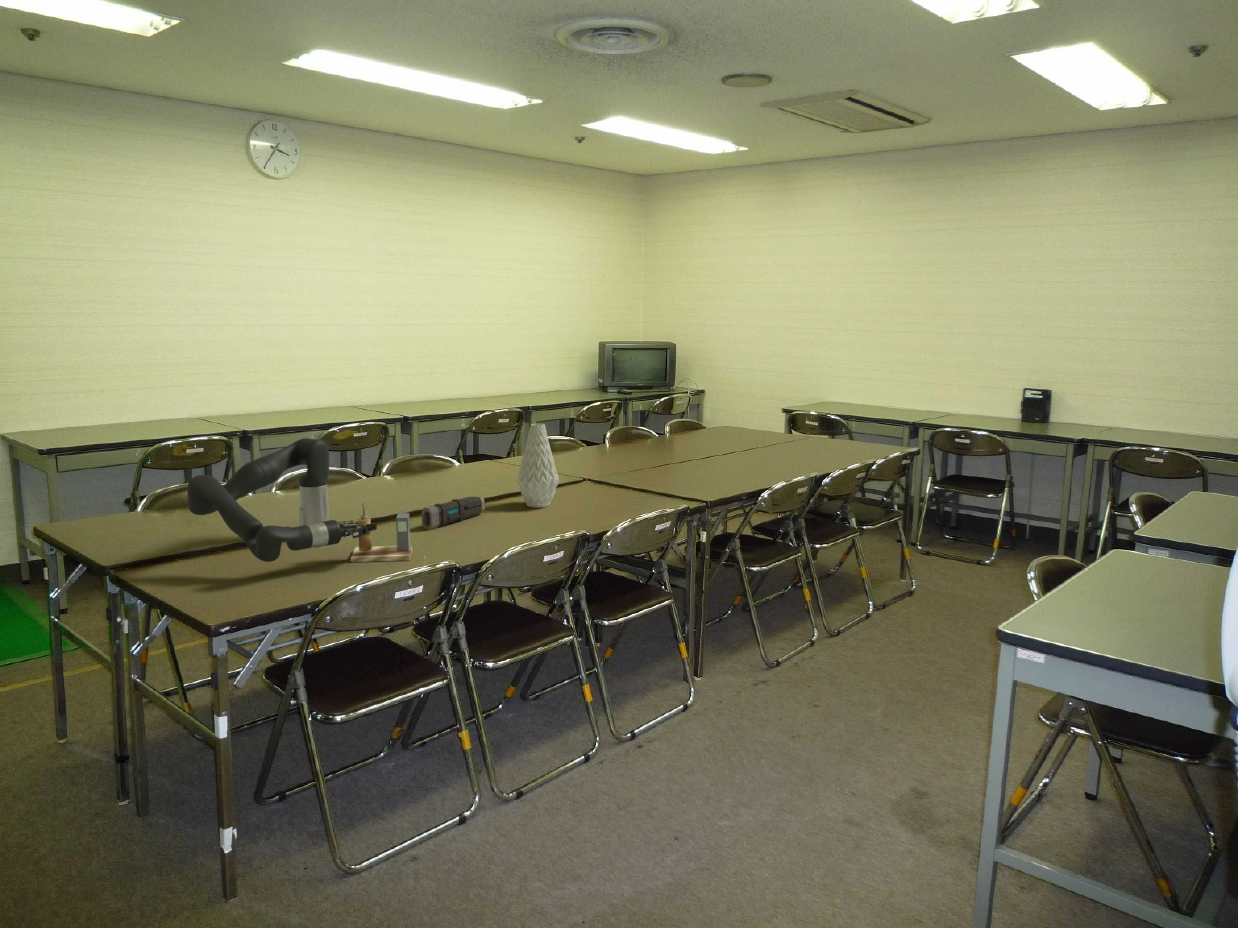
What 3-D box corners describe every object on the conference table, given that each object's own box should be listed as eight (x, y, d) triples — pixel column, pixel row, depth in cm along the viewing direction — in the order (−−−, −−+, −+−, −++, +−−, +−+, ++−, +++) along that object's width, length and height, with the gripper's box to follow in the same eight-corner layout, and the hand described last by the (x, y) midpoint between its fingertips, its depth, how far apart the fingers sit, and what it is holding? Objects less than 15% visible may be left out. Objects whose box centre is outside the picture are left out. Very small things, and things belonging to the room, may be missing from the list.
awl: (358, 551, 281) (356, 504, 278) (359, 547, 284) (358, 502, 282) (370, 550, 281) (369, 504, 279) (372, 547, 285) (370, 501, 282)
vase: (565, 507, 354) (565, 426, 348) (525, 511, 347) (525, 428, 341) (550, 499, 369) (550, 420, 363) (512, 502, 362) (511, 422, 356)
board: (350, 562, 279) (350, 557, 279) (356, 551, 291) (356, 546, 290) (409, 560, 282) (409, 555, 281) (412, 549, 293) (412, 545, 293)
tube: (490, 523, 341) (434, 529, 316) (477, 524, 345) (420, 531, 319) (486, 494, 342) (430, 499, 316) (473, 496, 345) (417, 501, 320)
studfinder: (397, 551, 286) (396, 518, 284) (399, 545, 292) (398, 513, 290) (408, 551, 286) (407, 517, 284) (410, 545, 293) (409, 513, 291)
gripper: (332, 526, 266) (383, 517, 278) (310, 517, 276) (361, 509, 288) (333, 550, 267) (384, 540, 279) (311, 541, 277) (362, 532, 289)
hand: (372, 524), depth 283 cm, fingers closed on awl, 3 cm apart
